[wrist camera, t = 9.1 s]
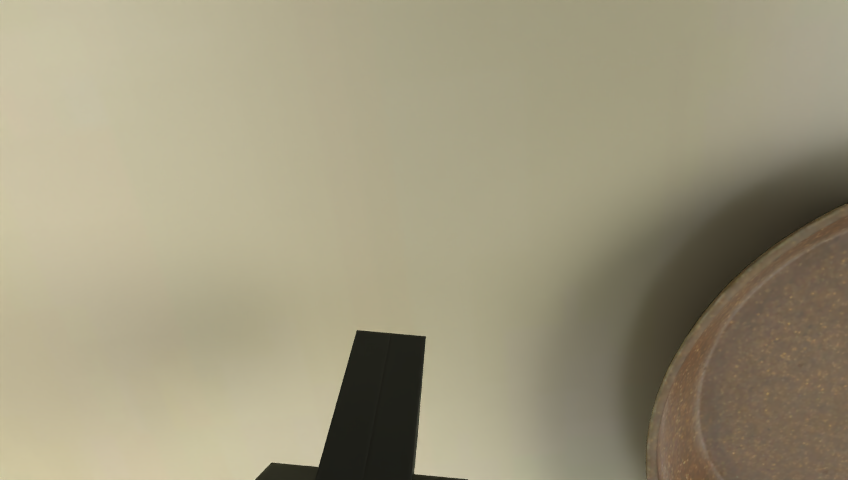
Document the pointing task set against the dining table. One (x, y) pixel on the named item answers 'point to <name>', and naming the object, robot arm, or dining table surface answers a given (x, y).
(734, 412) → the saucer
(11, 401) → the dining table surface
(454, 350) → the dining table surface
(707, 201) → the dining table surface
